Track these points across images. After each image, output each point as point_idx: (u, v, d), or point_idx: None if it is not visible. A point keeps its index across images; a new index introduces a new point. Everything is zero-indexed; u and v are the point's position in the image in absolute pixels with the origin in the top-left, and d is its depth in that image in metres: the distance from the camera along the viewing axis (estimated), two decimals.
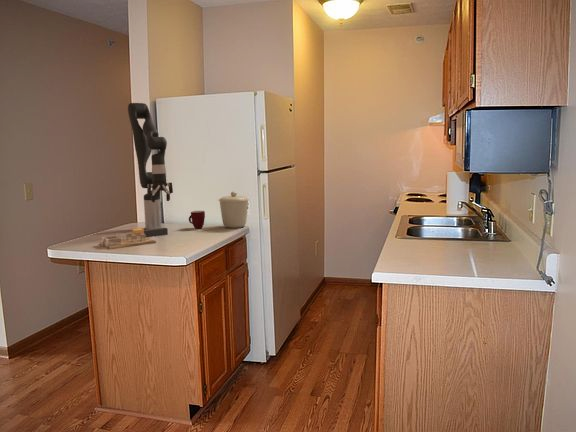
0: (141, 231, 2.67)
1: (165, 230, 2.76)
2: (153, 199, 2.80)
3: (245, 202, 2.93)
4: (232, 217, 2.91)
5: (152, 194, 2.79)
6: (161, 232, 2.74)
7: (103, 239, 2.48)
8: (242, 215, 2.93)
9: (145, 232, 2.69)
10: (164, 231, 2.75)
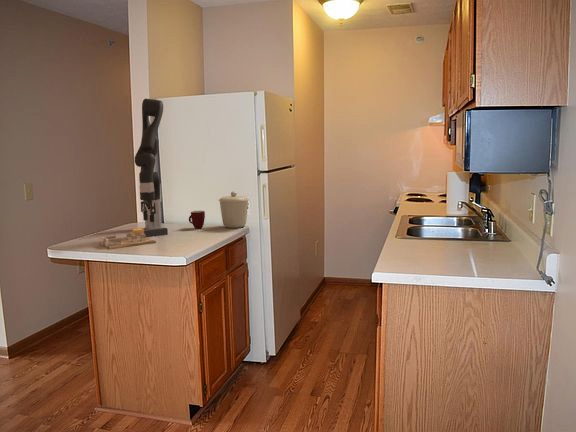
0: (141, 231, 2.67)
1: (165, 230, 2.76)
2: (153, 219, 2.67)
3: (245, 202, 2.93)
4: (232, 216, 2.91)
5: None
6: (161, 232, 2.74)
7: (103, 239, 2.48)
8: (242, 215, 2.93)
9: (145, 232, 2.69)
10: (164, 231, 2.75)
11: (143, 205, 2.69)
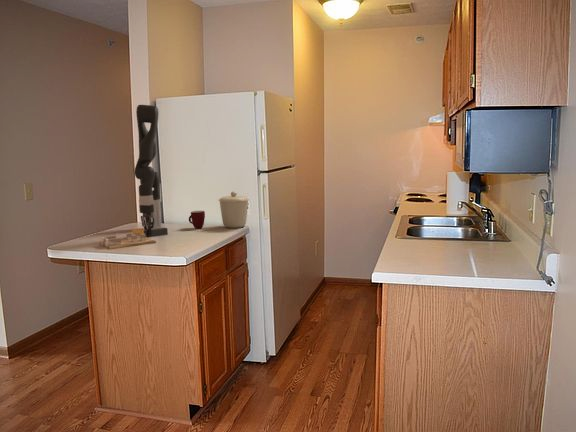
0: (141, 231, 2.67)
1: (165, 230, 2.76)
2: (150, 233, 2.70)
3: (245, 202, 2.93)
4: (232, 216, 2.91)
5: (151, 227, 2.69)
6: (161, 231, 2.74)
7: (103, 239, 2.48)
8: (242, 215, 2.93)
9: (145, 232, 2.69)
10: (164, 231, 2.75)
11: (142, 217, 2.70)
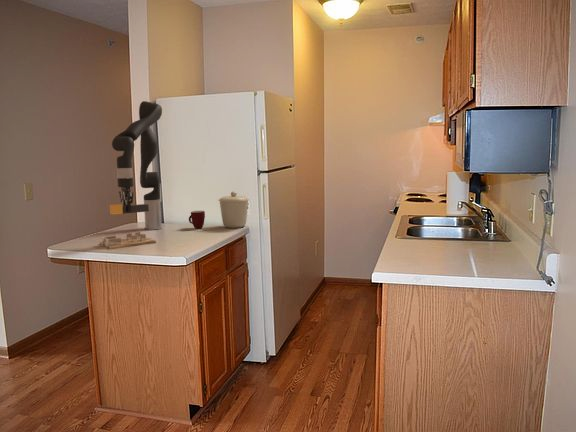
0: (119, 206, 2.47)
1: (146, 206, 2.56)
2: None
3: (245, 202, 2.93)
4: (232, 217, 2.91)
5: (131, 202, 2.50)
6: (142, 208, 2.55)
7: (103, 239, 2.48)
8: (242, 215, 2.93)
9: (124, 208, 2.50)
10: (145, 207, 2.56)
11: (121, 192, 2.51)
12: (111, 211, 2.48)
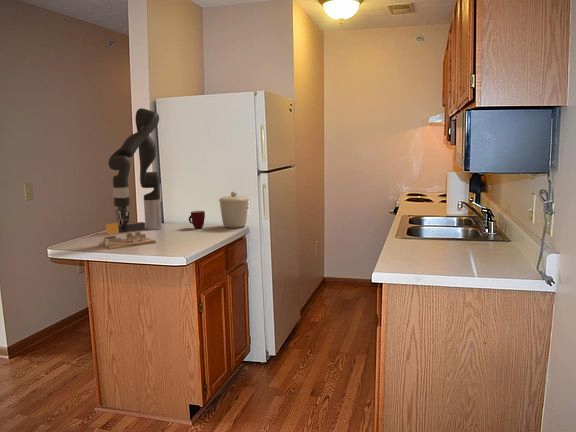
0: (115, 226, 2.47)
1: (142, 225, 2.56)
2: None
3: (245, 202, 2.93)
4: (232, 216, 2.91)
5: None
6: (138, 226, 2.54)
7: (103, 239, 2.48)
8: (242, 215, 2.93)
9: (120, 227, 2.49)
10: (141, 226, 2.55)
11: (117, 211, 2.50)
12: (107, 230, 2.47)
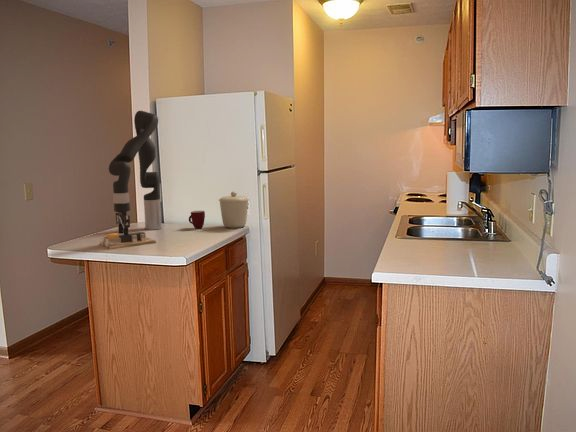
0: (116, 236, 2.48)
1: None
2: (127, 232, 2.49)
3: (245, 202, 2.93)
4: (232, 216, 2.91)
5: (128, 226, 2.48)
6: (138, 236, 2.55)
7: (103, 239, 2.48)
8: (242, 215, 2.93)
9: (120, 237, 2.50)
10: None
11: (117, 217, 2.50)
12: None
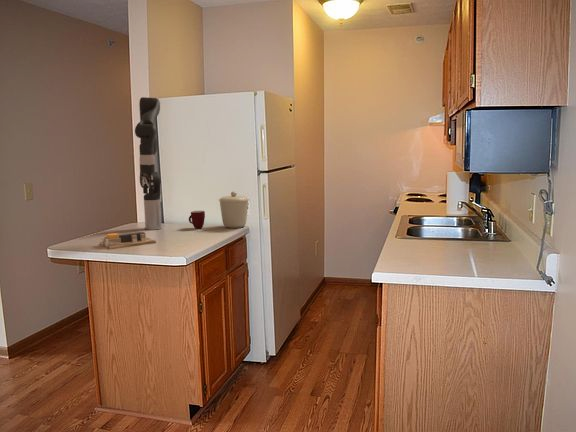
0: (116, 236, 2.48)
1: None
2: (152, 192, 2.60)
3: (245, 202, 2.93)
4: (232, 216, 2.91)
5: (153, 186, 2.59)
6: (138, 236, 2.55)
7: (103, 239, 2.48)
8: (242, 215, 2.93)
9: (120, 237, 2.50)
10: None
11: (143, 178, 2.62)
12: None
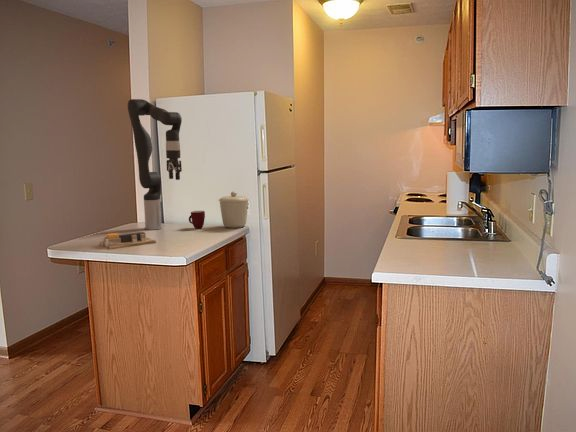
0: (116, 236, 2.48)
1: None
2: None
3: (245, 202, 2.93)
4: (232, 217, 2.91)
5: None
6: (138, 236, 2.55)
7: (103, 239, 2.48)
8: (242, 215, 2.93)
9: (120, 237, 2.50)
10: None
11: (169, 163, 2.74)
12: None
